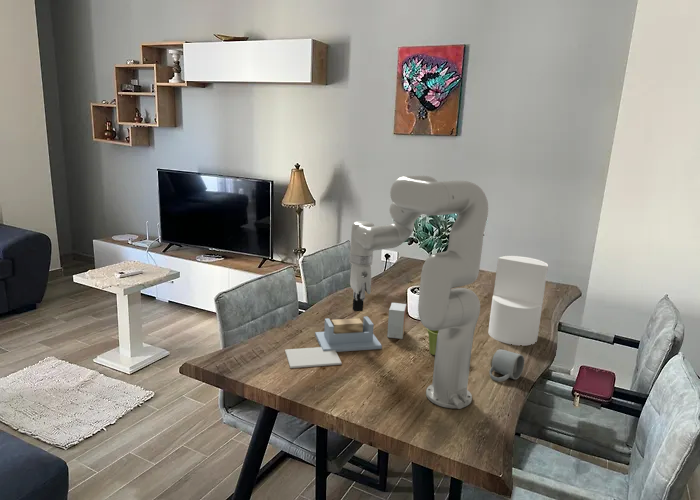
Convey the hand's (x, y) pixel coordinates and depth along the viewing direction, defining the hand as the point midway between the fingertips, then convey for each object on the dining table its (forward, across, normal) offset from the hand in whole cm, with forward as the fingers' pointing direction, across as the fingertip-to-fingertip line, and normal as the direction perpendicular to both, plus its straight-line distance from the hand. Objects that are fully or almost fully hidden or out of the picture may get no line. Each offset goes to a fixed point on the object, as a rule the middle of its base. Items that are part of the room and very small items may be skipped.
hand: (357, 310), depth 175 cm
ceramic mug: (+11, -32, -39) cm, 51 cm away
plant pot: (+11, -14, -25) cm, 31 cm away
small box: (+11, +3, -16) cm, 20 cm away
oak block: (+7, -1, +4) cm, 8 cm away
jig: (+11, -1, +3) cm, 12 cm away
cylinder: (+11, -4, -59) cm, 60 cm away
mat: (+11, -11, +17) cm, 23 cm away
